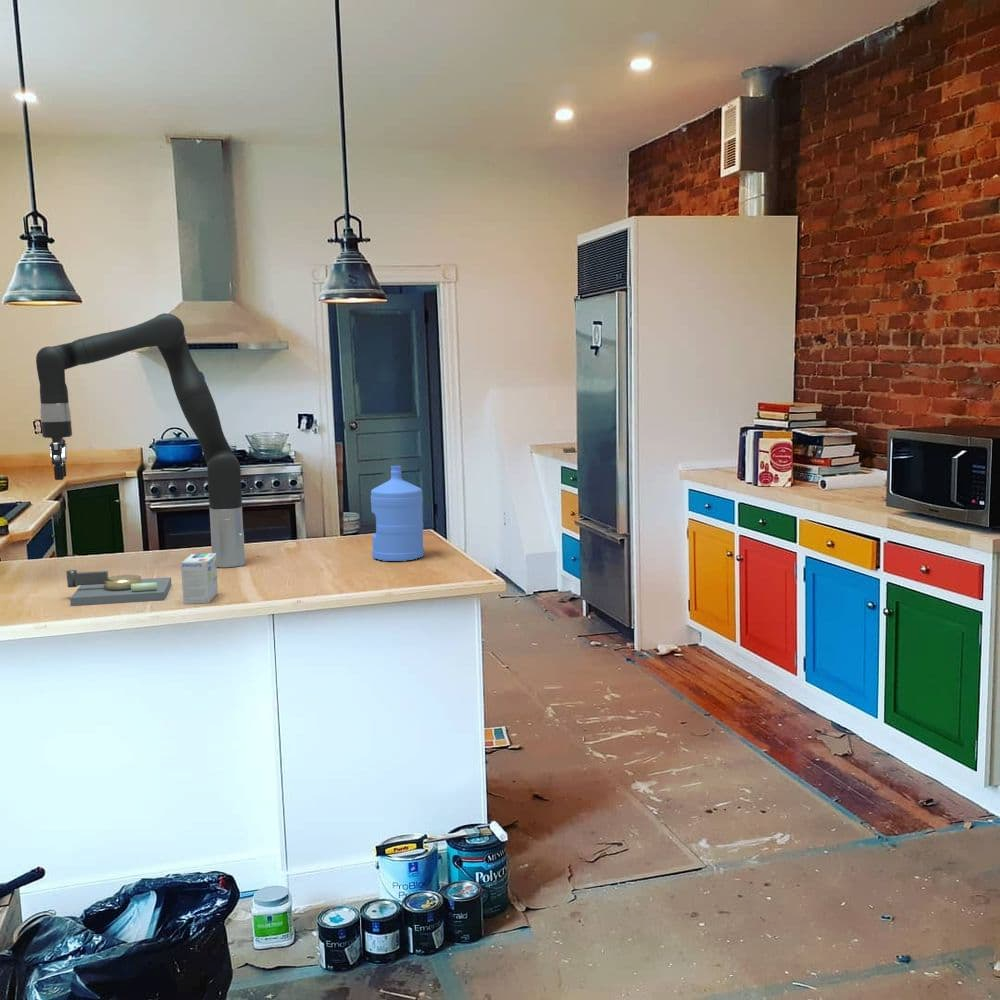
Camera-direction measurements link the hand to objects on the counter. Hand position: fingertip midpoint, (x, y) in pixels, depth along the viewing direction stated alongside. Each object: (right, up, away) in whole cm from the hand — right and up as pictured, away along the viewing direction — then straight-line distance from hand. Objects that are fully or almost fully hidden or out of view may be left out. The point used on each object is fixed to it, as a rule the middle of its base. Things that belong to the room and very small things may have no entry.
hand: (60, 478), depth 269 cm
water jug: (+91, -24, +26) cm, 98 cm away
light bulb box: (+46, -31, -24) cm, 61 cm away
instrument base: (+25, -31, -19) cm, 43 cm away
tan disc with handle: (+20, -28, -20) cm, 40 cm away
